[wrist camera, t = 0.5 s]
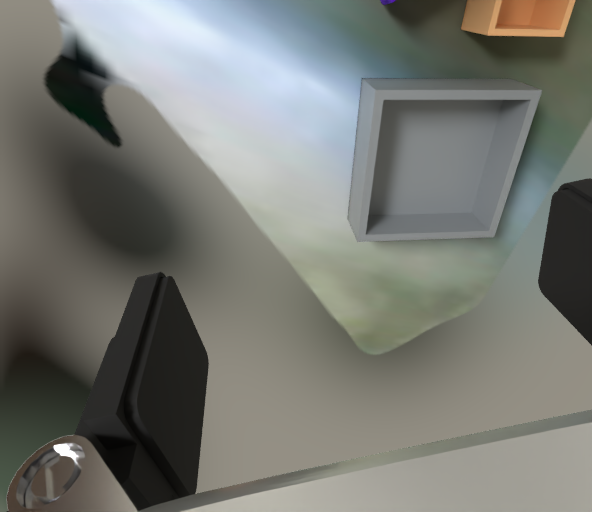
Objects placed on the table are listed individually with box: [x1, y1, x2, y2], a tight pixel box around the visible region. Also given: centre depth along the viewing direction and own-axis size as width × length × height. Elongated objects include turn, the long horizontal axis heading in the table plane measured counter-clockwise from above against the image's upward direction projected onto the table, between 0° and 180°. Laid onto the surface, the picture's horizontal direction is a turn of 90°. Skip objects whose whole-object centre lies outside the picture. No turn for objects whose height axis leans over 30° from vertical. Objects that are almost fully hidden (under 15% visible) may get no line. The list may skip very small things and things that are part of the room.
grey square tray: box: [348, 78, 542, 242], centre depth 42 cm, size 15×15×5 cm
